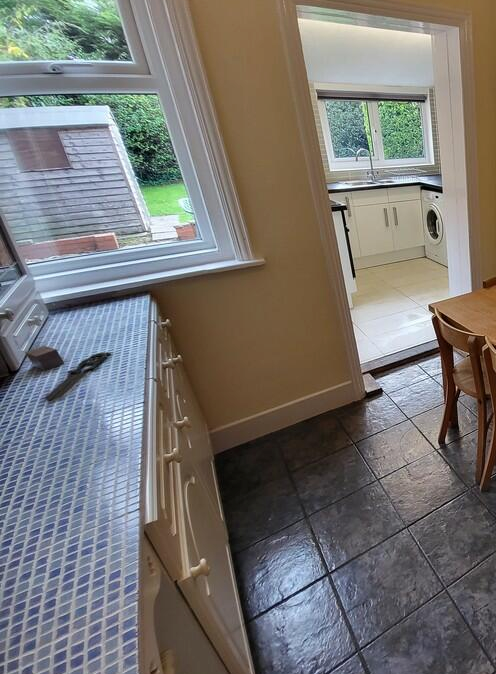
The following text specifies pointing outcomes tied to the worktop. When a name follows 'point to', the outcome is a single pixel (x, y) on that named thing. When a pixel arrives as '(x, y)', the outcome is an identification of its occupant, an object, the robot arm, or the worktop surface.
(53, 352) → the walnut bar
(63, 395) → the knife
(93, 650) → the worktop surface
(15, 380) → the worktop surface
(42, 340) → the worktop surface
